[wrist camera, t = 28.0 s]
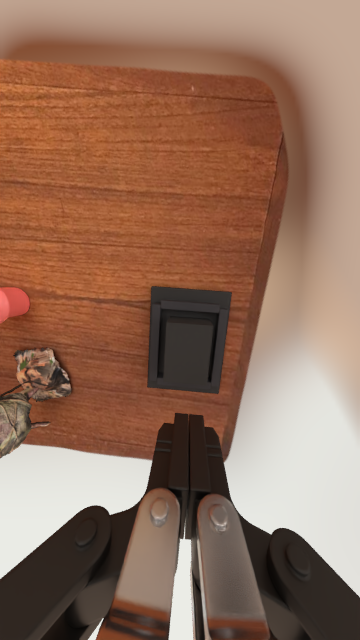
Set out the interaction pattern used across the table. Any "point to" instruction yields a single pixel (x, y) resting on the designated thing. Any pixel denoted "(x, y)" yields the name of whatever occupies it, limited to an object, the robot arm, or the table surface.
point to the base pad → (187, 305)
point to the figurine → (12, 302)
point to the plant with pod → (29, 395)
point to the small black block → (187, 350)
